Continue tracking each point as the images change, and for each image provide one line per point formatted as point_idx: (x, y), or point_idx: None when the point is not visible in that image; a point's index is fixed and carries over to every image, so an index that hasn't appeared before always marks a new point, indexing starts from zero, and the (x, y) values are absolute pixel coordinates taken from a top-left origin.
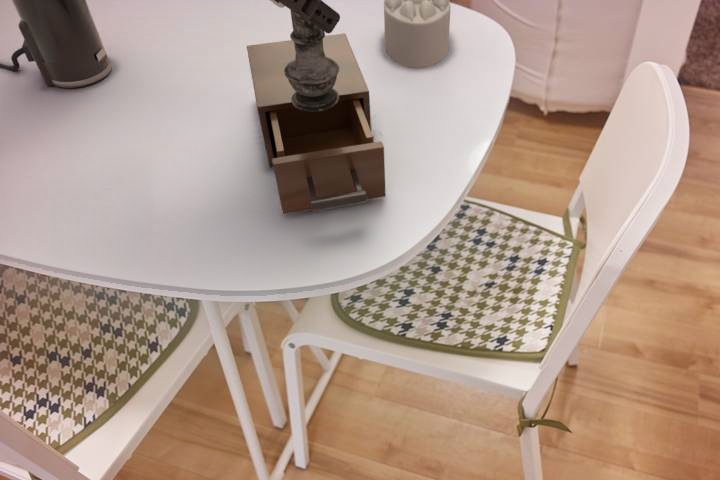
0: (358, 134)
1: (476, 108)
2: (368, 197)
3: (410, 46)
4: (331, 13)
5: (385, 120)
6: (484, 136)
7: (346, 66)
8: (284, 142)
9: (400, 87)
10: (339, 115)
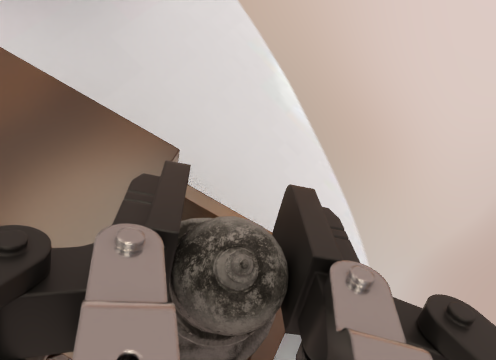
0: (193, 217)
1: (207, 8)
2: None
3: None
4: (339, 228)
5: (122, 116)
6: (266, 55)
7: (65, 113)
8: None
9: (67, 31)
10: None
